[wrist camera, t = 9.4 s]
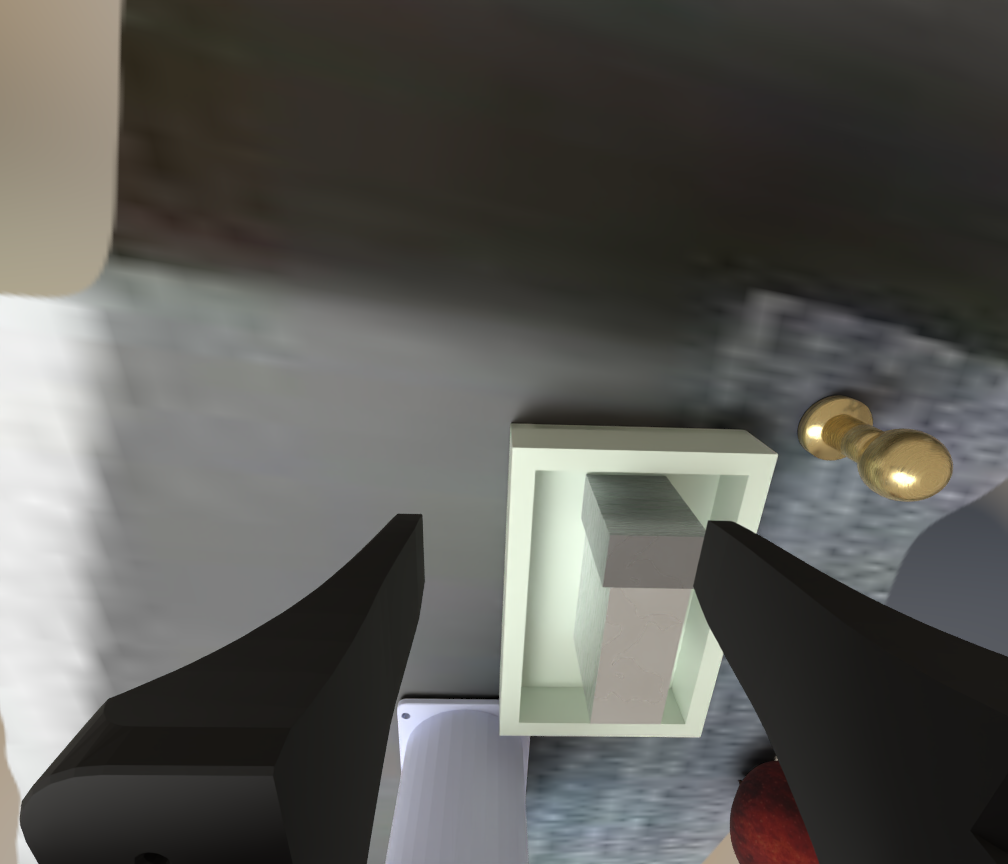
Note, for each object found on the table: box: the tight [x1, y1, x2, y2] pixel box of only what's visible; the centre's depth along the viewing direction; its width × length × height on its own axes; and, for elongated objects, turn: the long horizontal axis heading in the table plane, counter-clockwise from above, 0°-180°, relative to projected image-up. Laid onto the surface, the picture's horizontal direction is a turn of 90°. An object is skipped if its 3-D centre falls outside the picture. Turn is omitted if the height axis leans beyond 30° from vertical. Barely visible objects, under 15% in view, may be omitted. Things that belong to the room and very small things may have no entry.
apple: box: [730, 761, 819, 864], centre depth 27 cm, size 7×8×8 cm
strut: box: [573, 474, 706, 724], centre depth 22 cm, size 10×4×5 cm, turn 178°
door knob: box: [798, 395, 953, 502], centre depth 19 cm, size 3×3×6 cm
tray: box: [499, 423, 778, 737], centre depth 24 cm, size 17×11×3 cm, turn 178°
